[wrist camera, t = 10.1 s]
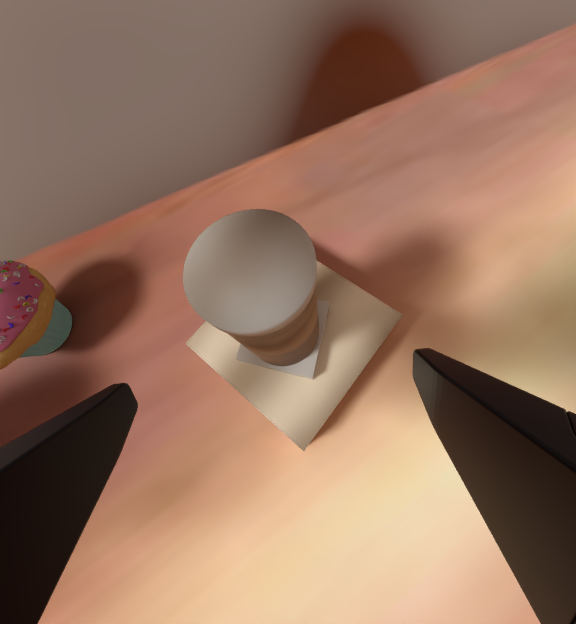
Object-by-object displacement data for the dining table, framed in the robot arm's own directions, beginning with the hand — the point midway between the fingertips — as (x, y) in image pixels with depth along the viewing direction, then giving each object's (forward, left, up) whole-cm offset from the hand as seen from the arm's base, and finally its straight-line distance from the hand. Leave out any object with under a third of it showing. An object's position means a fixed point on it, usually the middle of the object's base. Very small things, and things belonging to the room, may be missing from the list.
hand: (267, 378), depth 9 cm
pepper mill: (+3, -3, -10) cm, 11 cm away
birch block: (+3, -3, -13) cm, 14 cm away
